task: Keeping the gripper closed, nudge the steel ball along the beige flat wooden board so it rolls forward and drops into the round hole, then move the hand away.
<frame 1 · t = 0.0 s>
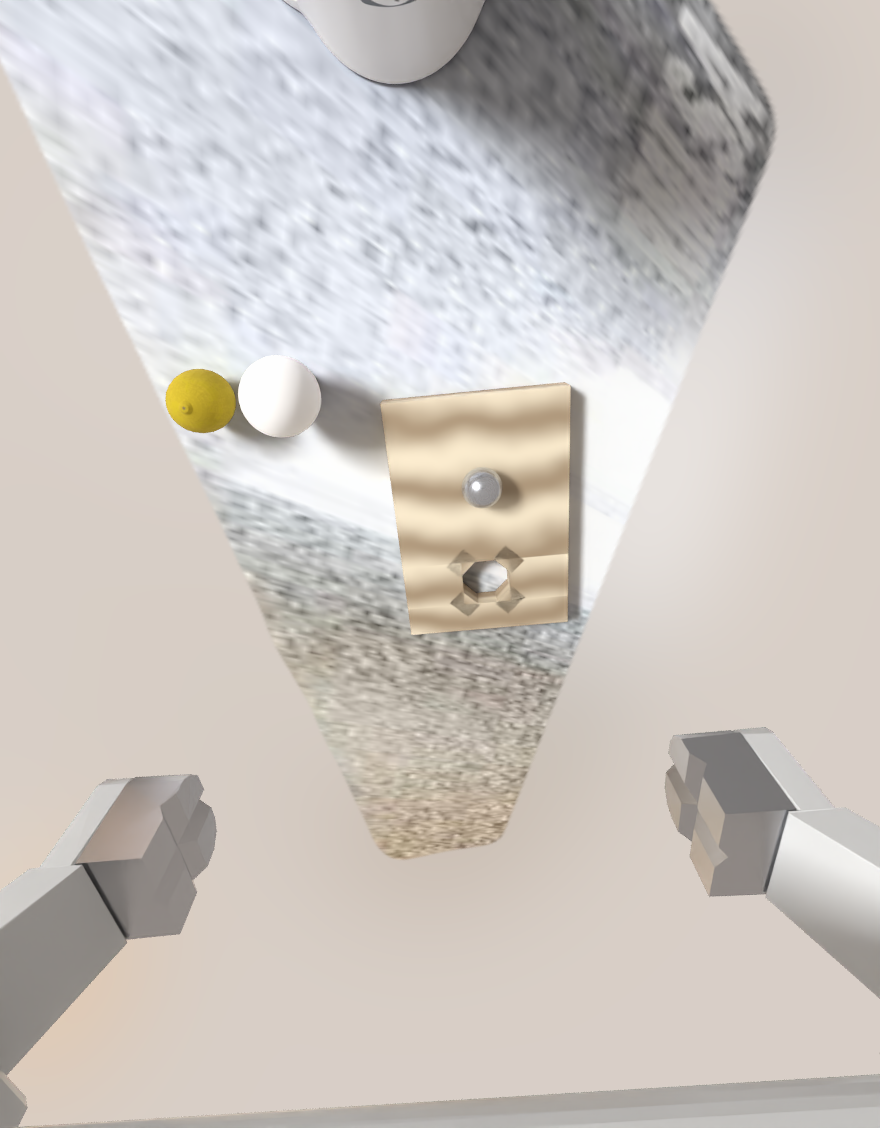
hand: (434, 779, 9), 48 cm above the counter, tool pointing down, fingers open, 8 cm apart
light bulb: (298, 386, 52), on the counter
ball: (481, 487, 52), point 4 cm above the counter, touching beige flat wooden board
lemon: (218, 394, 53), on the counter
beige flat wooden board: (480, 514, 58), on the counter
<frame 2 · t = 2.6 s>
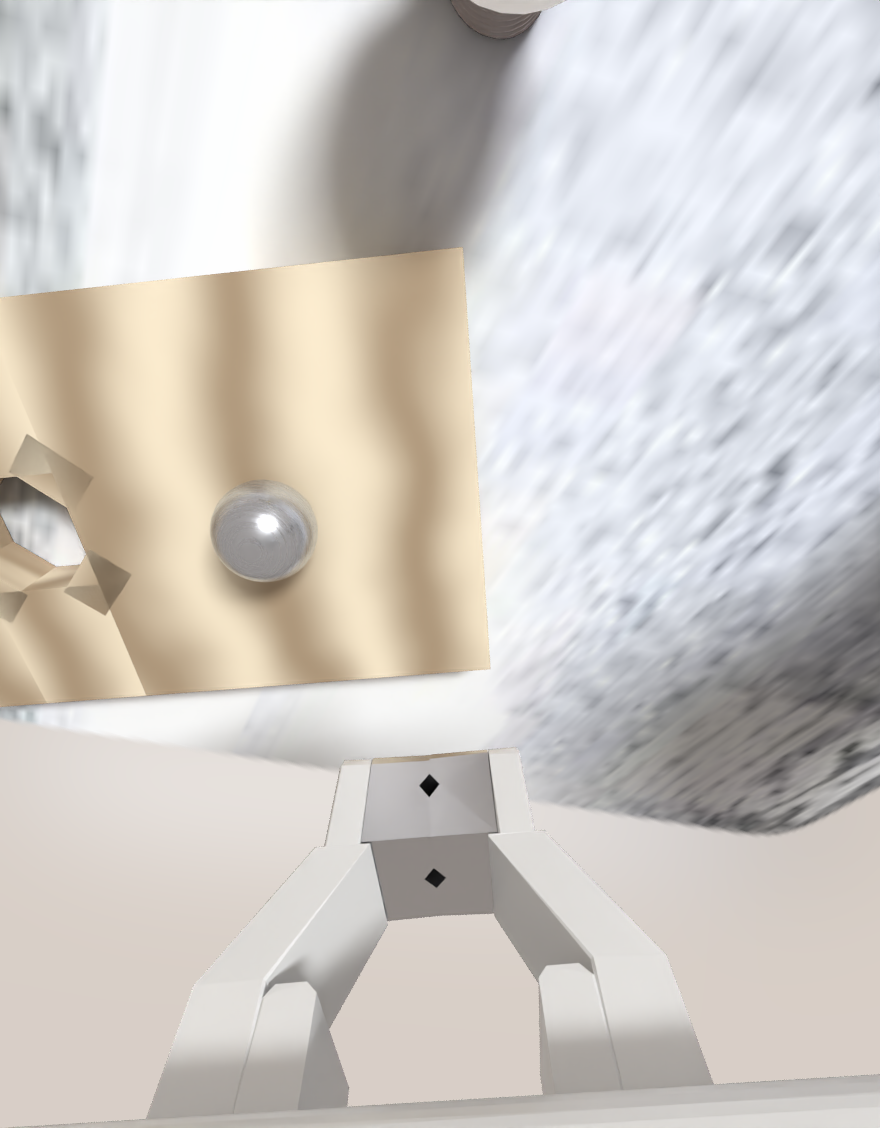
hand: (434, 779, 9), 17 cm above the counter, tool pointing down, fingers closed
ball: (265, 531, 21), point 4 cm above the counter, touching beige flat wooden board
beige flat wooden board: (199, 502, 25), on the counter
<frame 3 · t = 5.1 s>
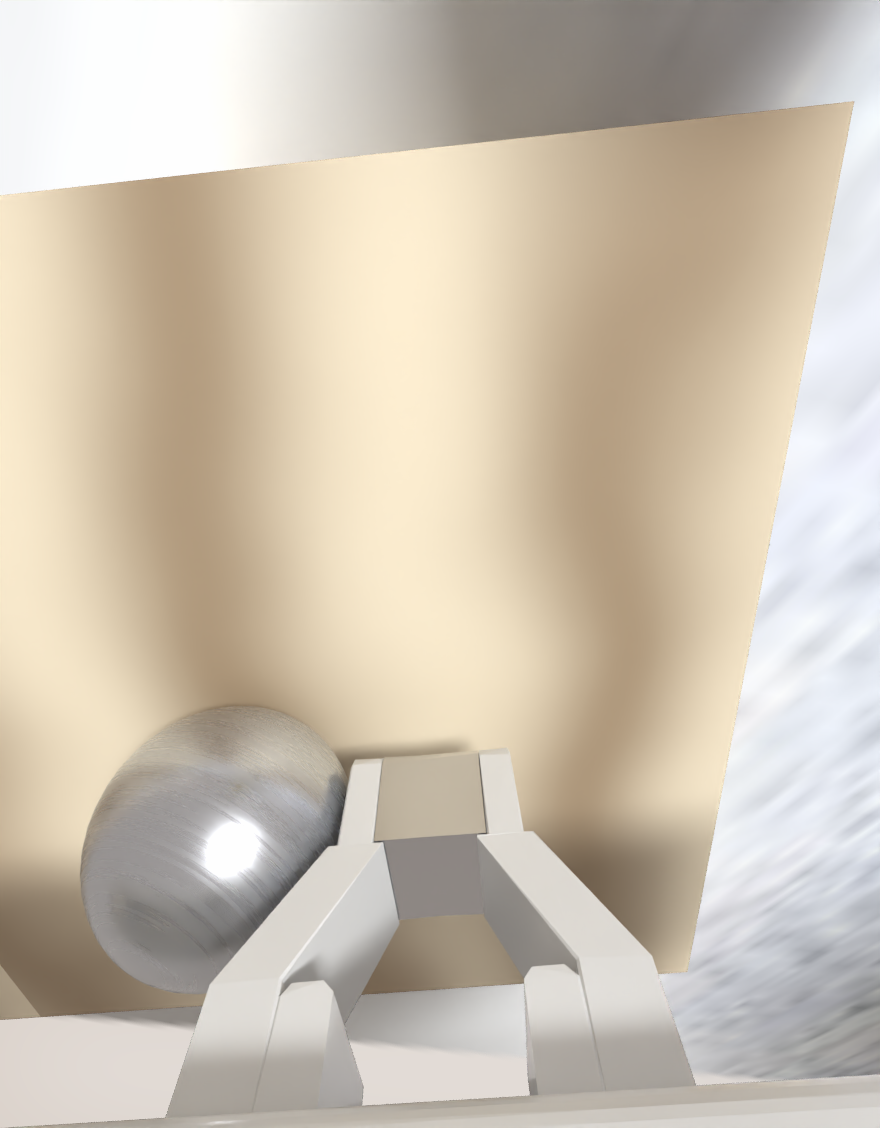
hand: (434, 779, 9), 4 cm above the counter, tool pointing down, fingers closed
ball: (229, 834, 9), point 4 cm above the counter, tilted 18°, touching beige flat wooden board, gripper
beige flat wooden board: (133, 678, 13), on the counter
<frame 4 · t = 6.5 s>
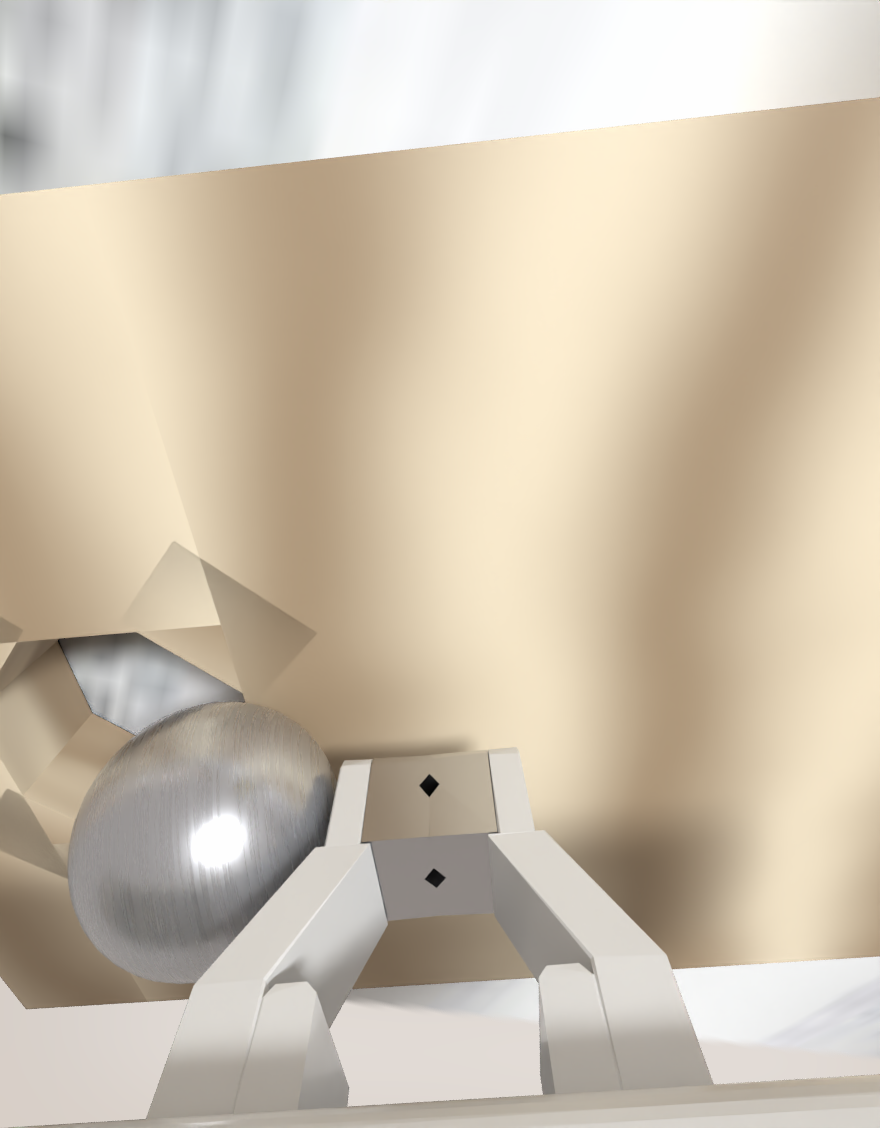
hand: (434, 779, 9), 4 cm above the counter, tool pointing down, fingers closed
ball: (216, 828, 9), point 4 cm above the counter, tilted 103°, touching beige flat wooden board
beige flat wooden board: (471, 646, 13), on the counter
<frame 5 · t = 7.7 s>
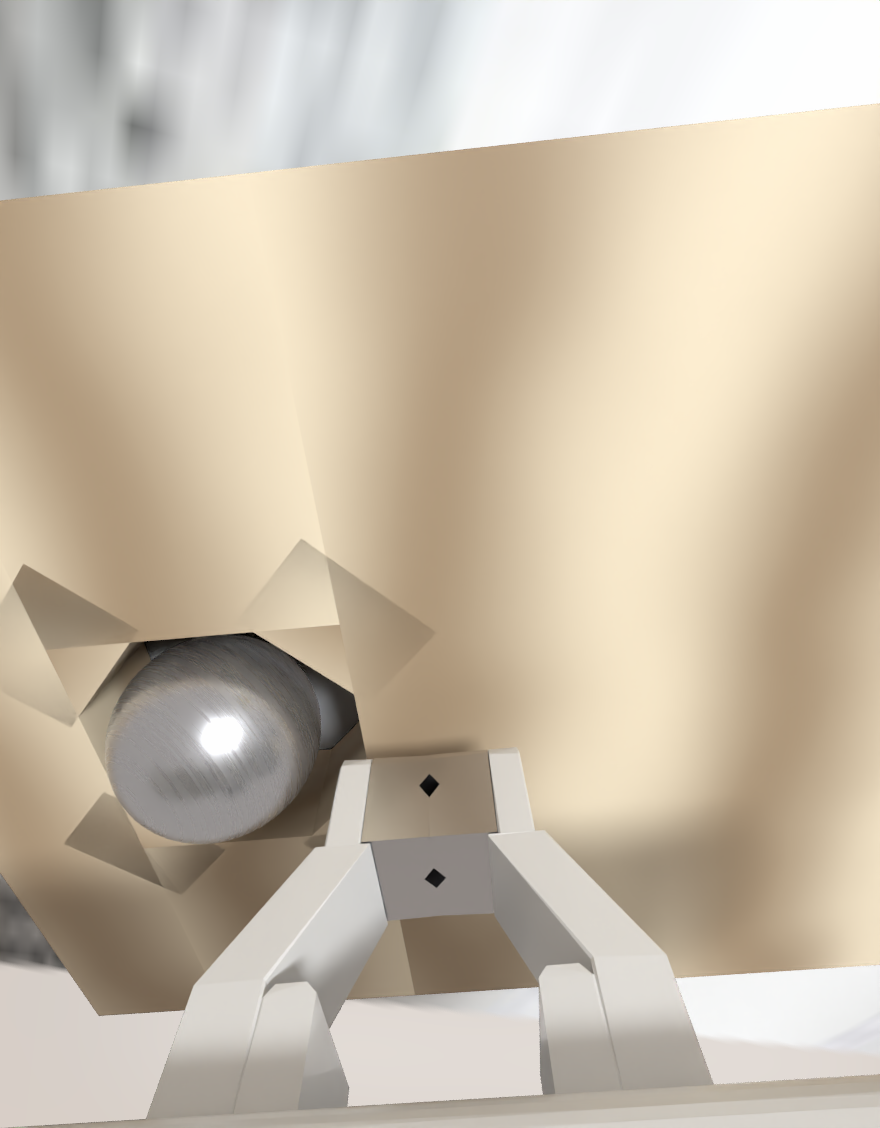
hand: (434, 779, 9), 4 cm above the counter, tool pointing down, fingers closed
ball: (220, 733, 11), point 2 cm above the counter, tilted 33°
beige flat wooden board: (562, 645, 12), on the counter
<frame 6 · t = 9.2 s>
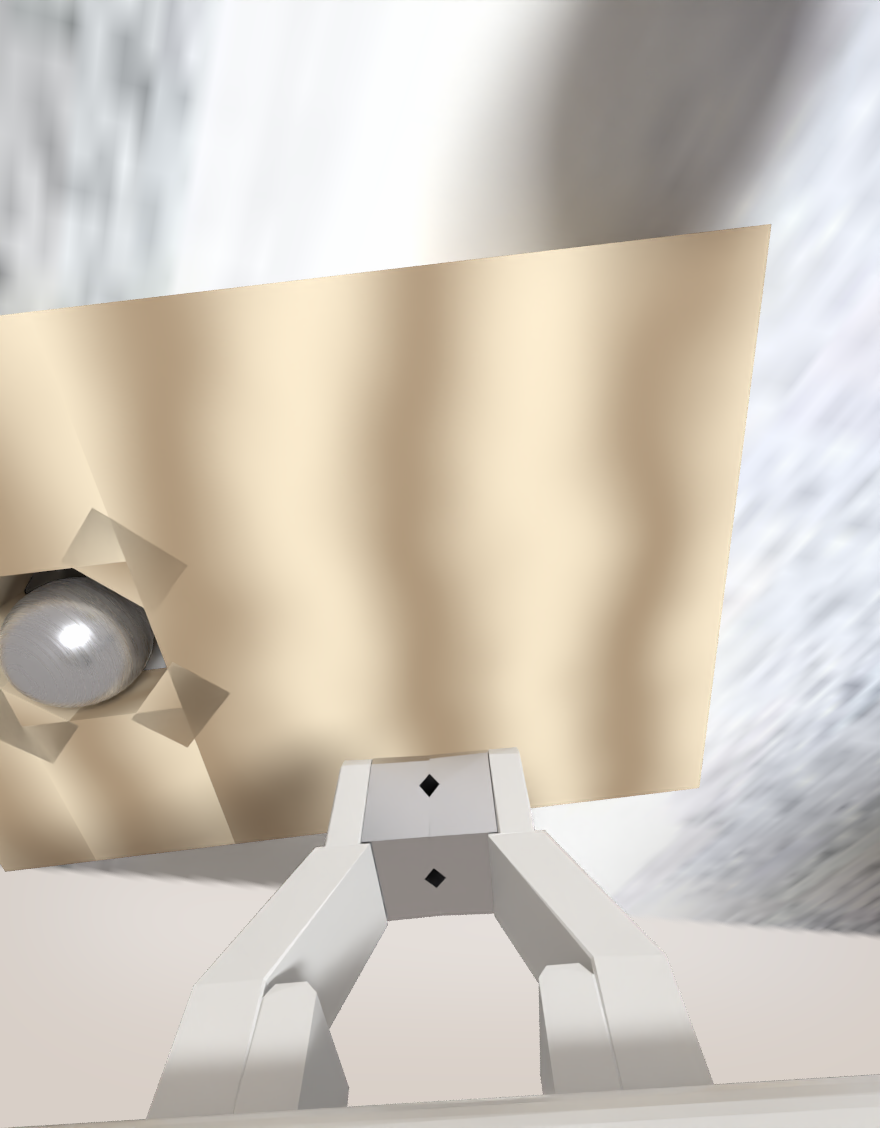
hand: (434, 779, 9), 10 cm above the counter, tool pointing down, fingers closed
ball: (80, 641, 17), point 2 cm above the counter, tilted 21°
beige flat wooden board: (314, 585, 18), on the counter
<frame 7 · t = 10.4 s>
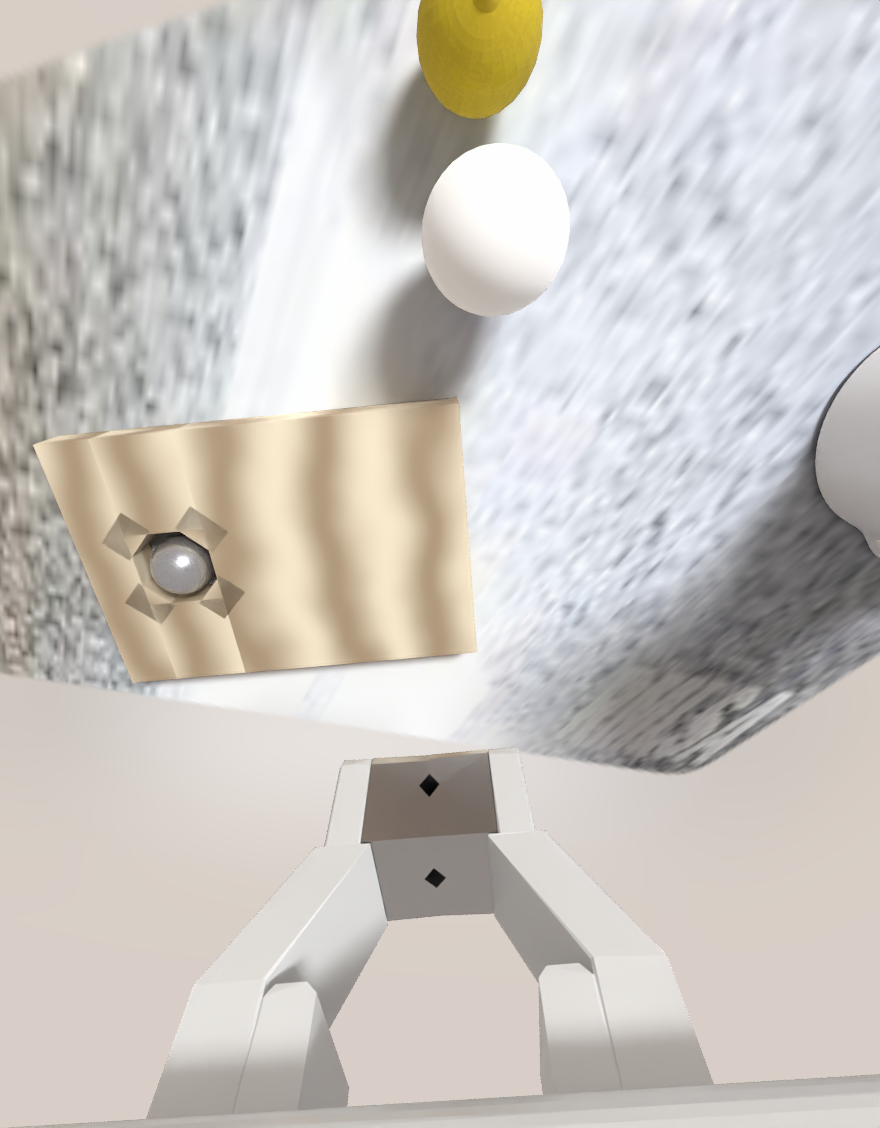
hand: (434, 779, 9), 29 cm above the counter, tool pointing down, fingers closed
light bulb: (480, 251, 31), on the counter
ball: (182, 565, 37), point 2 cm above the counter, tilted 13°
lemon: (471, 73, 28), on the counter
beige flat wooden board: (286, 544, 38), on the counter
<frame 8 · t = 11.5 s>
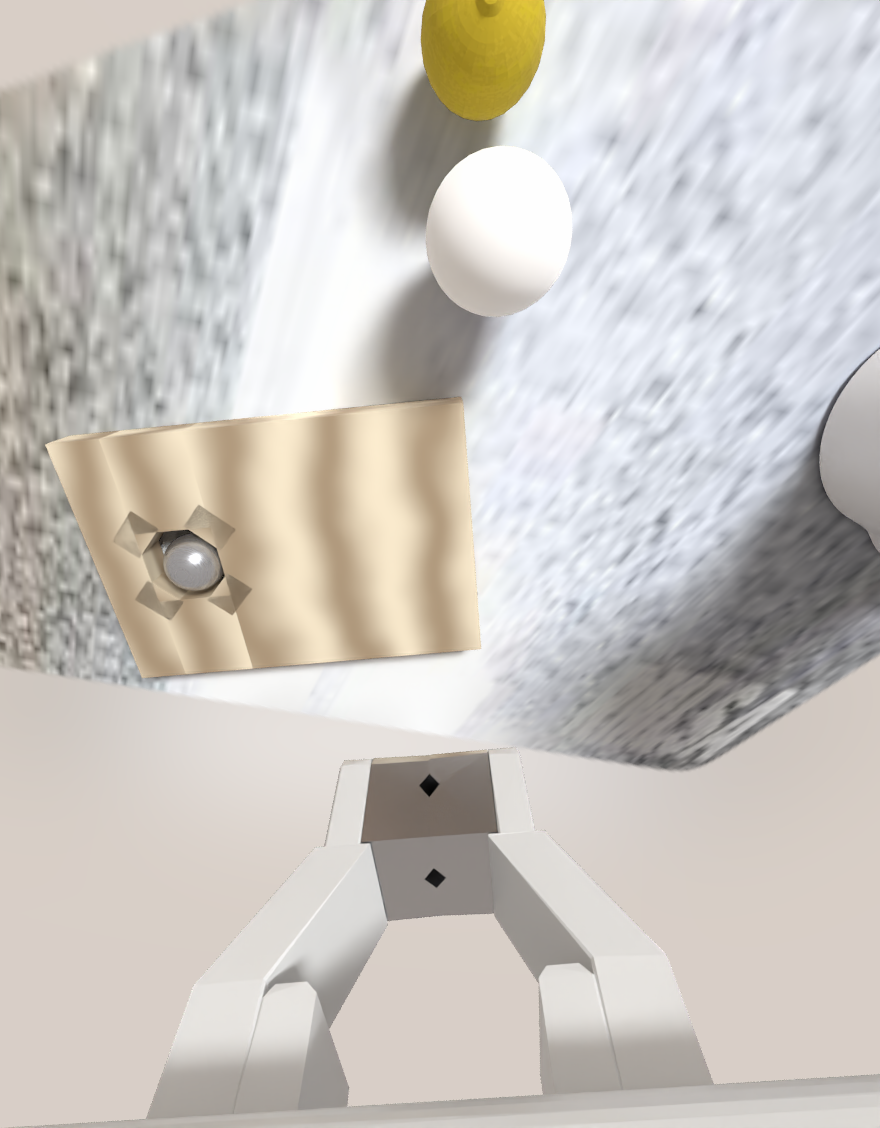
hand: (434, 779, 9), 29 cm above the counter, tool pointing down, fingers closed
light bulb: (484, 251, 31), on the counter
ball: (195, 562, 37), point 2 cm above the counter
lemon: (475, 75, 28), on the counter
beige flat wooden board: (292, 542, 39), on the counter
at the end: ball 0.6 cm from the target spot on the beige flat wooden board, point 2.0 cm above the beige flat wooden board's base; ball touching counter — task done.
